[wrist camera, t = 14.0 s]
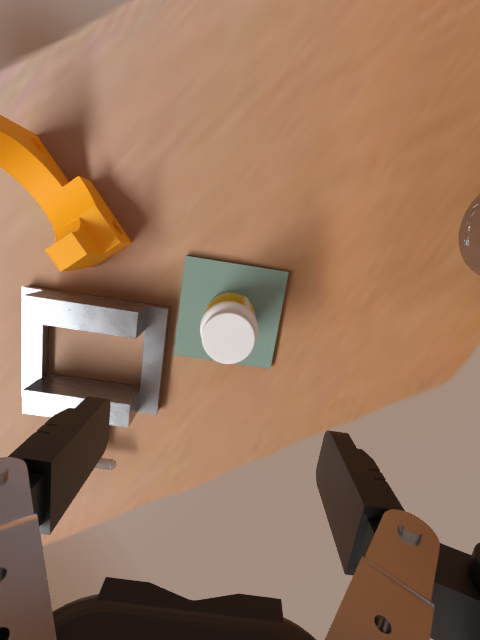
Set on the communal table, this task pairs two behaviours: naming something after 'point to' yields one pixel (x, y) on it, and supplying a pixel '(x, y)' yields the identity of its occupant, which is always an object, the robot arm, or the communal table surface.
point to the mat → (218, 277)
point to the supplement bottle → (229, 327)
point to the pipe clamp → (62, 202)
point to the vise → (101, 317)
